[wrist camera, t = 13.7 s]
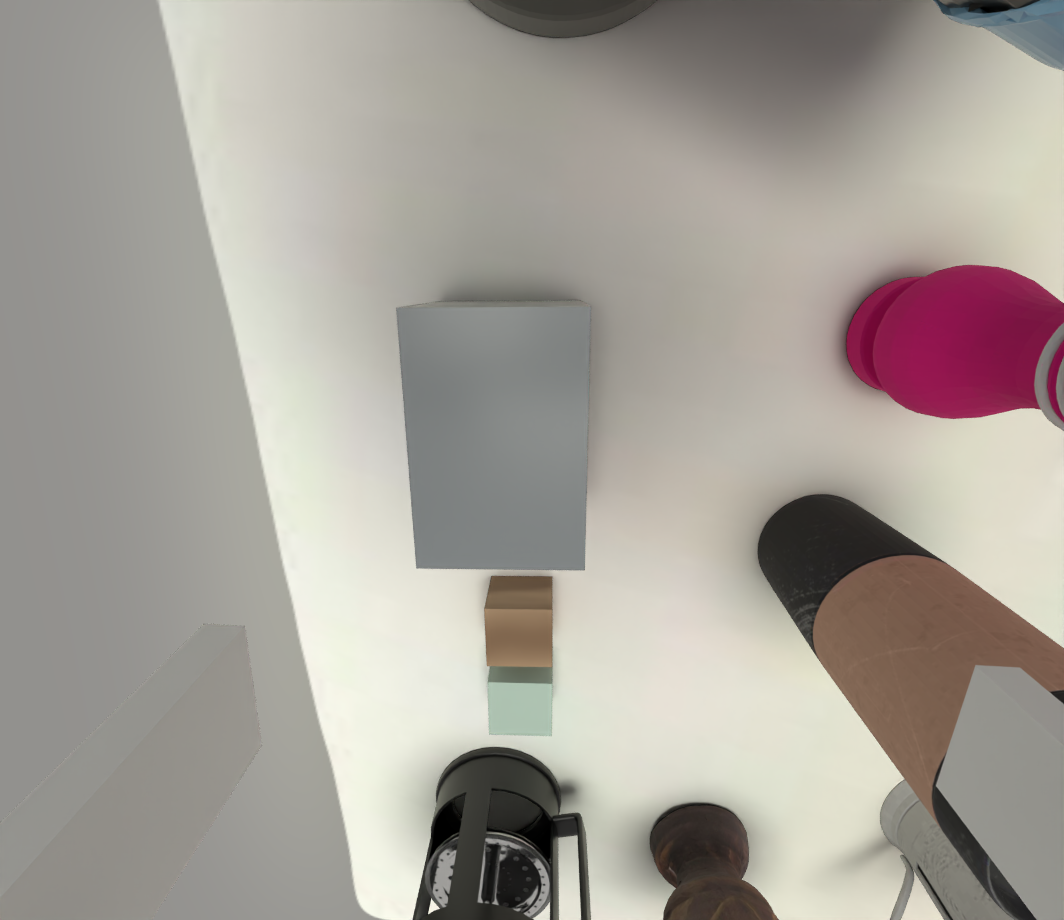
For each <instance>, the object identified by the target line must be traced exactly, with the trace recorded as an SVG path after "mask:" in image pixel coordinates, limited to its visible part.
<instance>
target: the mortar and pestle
mask: <svg viewBox="0 0 1064 920" xmlns="http://www.w3.org/2000/svg"><path fill="white" fill-rule="evenodd" d="M650 848H651V852H652V854H653V857H654V861H655V863H656V866H657V868H658V870H659V872H660V873H661V874H662V875H663V877H664V878H665V879H666V880H667V881H668V882H669V883H670V884H672V885H673V886H674V887H675V888H676V889H675V890H674V892H673V893H672V895H671V896H670V898H669V899H668V902H667V904H666V907H665V910H664V918H663V920H778V918H777V917H776V915H775V914H774V913H773V910H772V908H771V906H770V905H769V903H768V902H767V900H766V899H765V898H764V897H763V896H762V895H761V893H760V892H759V891H758V890H757V889H756V888H755V887H753V886H752V885H751V884H749V883H748V882H746V881H743V880H742V878H743V876H744V874H745V872H746V869H747V866H748V862H749V847H748V840H747V833H746V830H745V828H744V826H743V824H742V823H741V822H740V820H739V819H738V818H737V817H736V816H735V815H734V814H732V813H731V812H729V811H728V810H725V809H723V808H719V807H716V806H689V807H684V808H681V809H679V810H676V811H674V812H672V813H671V814H669V815H667V816H666V817H665V818H664V819H663V820H661V821H660V822H659V823H658V824H657V825H656V827H655V828H654V829H653V831H652V833H651V837H650Z"/></svg>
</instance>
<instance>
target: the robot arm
mask: <svg viewBox="0 0 1064 920" xmlns="http://www.w3.org/2000/svg"><path fill="white" fill-rule="evenodd" d="M469 1H470V2H472V3H473V4H474V5H475V6H476V7H477V8H479V9H480V10H482V11H483V12H484V13H486V14H487V15H489V16H491V17H492V18H494V19H496V20H497V21H499V22H501V23H503V24H505V25H507V26H509V27H512V28H515V29H517V30H520V31H523V32H527V33H530V34H535V35H540V36H547V37H577V36H584V35H589V34H593V33H598V32H601V31H604V30H607V29H610V28H612V27H615V26H617V25H619V24H622V23H624V22H625V21H627V20H629V19H631V18H633V17H635V16H636V15H638V14H639V13H641V12H642V11H644V10H645V9H647V8H648V7H649V6H651V5H652V4H653V3H655V2H656V1H657V0H469ZM933 1H934V2H935V3H936V4H937V6H938V7H939V8H940V9H941V11H942V13H943V14H945V15H947V16H948V18H949V19H951V20H954V21H956V22H959V23H961V24H966V25H971V26H976V27H984V28H985V29H987V30H989V31H991V32H992V33H994V34H996V35H997V36H999V37H1000V38H1002V39H1004V40H1005V41H1007V42H1008V43H1010V44H1012V45H1013V46H1015V47H1016V48H1018V49H1020V50H1021V51H1023V52H1024V53H1026V54H1028V55H1029V56H1031V57H1032V58H1034V59H1036V60H1038V61H1039V62H1041V63H1043V64H1045V65H1048V66H1050V67H1053V68H1056V69H1059V70H1063V71H1064V0H933ZM261 746H262V741H261V735H260V727H259V720H258V713H257V706H256V700H255V693H254V686H253V679H252V672H251V665H250V658H249V651H248V644H247V637H246V630H245V626H237V625H218V624H203V625H202V626H201V627H200V628H199V629H198V630H197V631H196V632H195V633H194V634H193V635H192V636H191V637H190V638H189V639H188V640H187V641H186V642H185V643H184V644H183V645H182V646H181V647H180V648H178V649H177V650H176V651H175V652H174V653H173V654H172V655H171V656H170V657H169V658H168V659H167V660H166V661H165V662H164V663H163V664H162V665H161V666H160V667H159V668H158V669H157V670H156V671H155V672H154V673H153V674H152V675H151V676H150V677H149V678H148V679H147V680H146V681H145V682H144V683H143V684H142V685H141V686H140V687H139V688H138V689H137V690H135V692H133V693H132V694H131V695H130V696H129V697H128V698H127V699H126V700H125V701H124V702H123V703H122V704H121V705H120V706H119V707H118V708H117V709H116V710H115V711H114V712H113V713H112V714H111V715H110V716H109V717H108V718H107V719H106V720H105V721H104V722H103V723H102V724H101V725H100V726H99V727H98V728H97V729H95V730H94V731H93V732H92V733H91V734H90V735H89V736H88V737H87V738H86V739H85V740H84V741H83V742H82V743H81V744H80V745H79V746H78V747H77V748H76V749H75V750H74V751H73V752H72V753H71V754H70V755H69V756H68V757H67V758H66V759H65V760H64V761H63V762H62V763H61V764H60V765H59V766H58V767H57V768H56V769H55V770H53V771H52V772H51V773H50V774H49V776H47V777H46V778H45V779H44V780H43V781H42V782H41V783H40V784H39V785H38V786H37V787H36V788H35V789H34V790H33V791H32V792H31V793H30V794H29V795H28V796H27V797H26V798H25V799H24V800H23V801H22V802H21V803H20V804H19V805H18V806H17V807H16V808H14V809H13V810H12V811H11V812H10V813H9V814H8V815H7V816H6V817H5V818H4V819H3V820H2V821H1V822H0V920H152V919H153V917H154V916H155V914H156V913H157V911H158V909H159V908H160V906H161V905H162V903H163V901H164V900H165V898H166V897H167V895H168V894H169V892H170V890H171V889H172V887H173V886H174V884H175V882H176V881H177V879H178V878H179V876H180V874H181V873H182V871H183V870H184V868H185V867H186V865H187V863H188V862H189V860H190V859H191V857H192V855H193V854H194V852H195V851H196V849H197V847H198V846H199V844H200V843H201V841H202V840H203V838H204V836H205V835H206V833H207V832H208V830H209V829H210V827H211V825H212V824H213V822H214V821H215V819H216V818H217V816H218V814H219V813H220V811H221V810H222V808H223V806H224V805H225V803H226V802H227V800H228V799H229V797H230V795H231V794H232V792H233V791H234V789H235V787H236V786H237V784H238V783H239V781H240V780H241V778H242V776H243V775H244V773H245V772H246V770H247V768H248V767H249V765H250V764H251V762H252V760H253V759H254V757H255V755H256V754H257V753H258V751H259V749H260V748H261ZM936 787H937V788H938V789H939V791H940V792H941V793H942V795H943V796H944V797H945V799H946V800H947V801H948V803H949V804H950V805H951V807H952V808H953V809H954V811H955V812H956V813H957V814H958V816H959V817H960V818H961V820H962V821H963V822H964V824H965V825H966V826H967V828H968V829H969V830H970V832H971V833H972V834H973V836H974V837H975V838H976V840H977V841H978V842H979V844H980V845H981V846H982V848H983V849H984V850H985V852H986V853H987V854H988V856H989V857H990V858H991V860H992V861H993V862H994V864H995V865H996V866H997V868H998V869H999V870H1000V872H1001V873H1002V874H1003V876H1004V877H1005V878H1006V880H1007V881H1008V882H1009V884H1010V885H1011V886H1012V888H1013V889H1014V890H1015V892H1016V893H1017V894H1018V896H1019V897H1020V898H1021V900H1022V901H1023V902H1024V904H1025V905H1026V906H1027V908H1028V909H1029V910H1030V912H1031V913H1032V914H1033V916H1034V917H1035V918H1036V919H1037V920H1064V704H1063V703H1062V702H1061V701H1059V700H1058V699H1057V698H1056V697H1055V696H1053V695H1052V694H1051V693H1050V692H1049V691H1047V690H1046V689H1045V688H1044V687H1043V686H1041V685H1040V684H1039V683H1038V682H1037V681H1035V680H1034V679H1033V678H1032V677H1031V676H1029V675H1028V674H1027V673H1026V672H1025V671H1023V670H1022V669H1021V668H1020V667H1002V666H983V665H975V668H974V671H973V674H972V677H971V680H970V683H969V686H968V689H967V693H966V696H965V699H964V702H963V705H962V708H961V711H960V714H959V717H958V720H957V723H956V726H955V729H954V732H953V735H952V738H951V741H950V744H949V747H948V750H947V753H946V756H945V759H944V762H943V765H942V768H941V771H940V775H939V778H938V781H937V784H936Z"/></svg>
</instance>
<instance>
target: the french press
mask: <svg viewBox="0 0 1064 920" xmlns="http://www.w3.org/2000/svg"><path fill="white" fill-rule="evenodd" d="M492 790H495V791H505V792H509V793H513V794H517V795H519V796H521V797H524V798H526V799H528V800H529V801H531V802H533V803H534V804H536V805H537V806H538V807H539V808H540V809H541V810H542V812H541V815H540V816H539V818H538V819H537V820H536V821H535V822H534V823H533V824H532V825H531V826H529V827H528V828H526V829H524V830H522V831H519V832H516V833H514V832H511V831H508V830H504V829H500V828H493V827H487V823H488V815H489V807H490V799H491V791H492ZM465 794H466V798H465V804H464V810H463V815H462V818H461V817H460V815H459V814H458V813H457V811H456V809H455V806H454V802H453V800H455V799H456V798H458V797H461V796H463V795H465ZM436 803H437V804H436V808H435V813H434V817H433V822H432V826H431V839H430V843H429V848H428V852H427V857H426V862H425V866H424V871H423V875H422V880H421V884H420V889H419V893H418V898H417V902H416V907H415V911H414V916H413V920H533V919H532V918H534V917H536V916H537V915H538V914H539V913H540V912H542V911H543V910H544V909H545V907H546V906H547V905H548V903H549V902H550V920H559V873H558V838H559V837H567V836H574V835H578V856H579V879H580V902H581V920H591V911H590V894H589V877H588V860H587V843H586V832H585V828H584V824H583V820H582V817H581V815H580V814H579V813H569V814H562V815H559V812H560V806H561V796H560V789H559V787H558V784H557V782H556V779H555V778H554V776H553V775H552V773H551V772H550V771H549V770H548V769H547V768H546V767H545V766H544V765H543V764H542V763H541V762H539V761H538V760H536V759H535V758H533V757H532V756H529V755H527V754H525V753H522V752H520V751H516V750H512V749H507V748H483V749H479V750H475V751H471V752H469V753H467V754H464V755H462V756H460V757H459V758H457V759H456V760H454V761H453V762H452V763H451V764H450V765H449V766H448V767H447V768H446V769H445V771H444V772H443V774H442V776H441V777H440V780H439V783H438V786H437V790H436ZM431 898H432V900H433V901H434V902H435V903H436V904H437V906H438V907H439V908H440V909H438V910H435V911H433V912H431V913H430V914H428V911H429V906H430V901H431Z"/></svg>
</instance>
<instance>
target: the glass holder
mask: <svg viewBox="0 0 1064 920" xmlns="http://www.w3.org/2000/svg"><path fill="white" fill-rule="evenodd" d="M880 823H881V828H882V830H883V832H884V834H885V836H886V837H887V839H888V840H889V841H890V842H891V843H892V844H893V845H894V846H895V847H897V848H898V849H899V850H901V851H902V852H903V854H904V855H905V856H904V855H901V856H900V857H901V859H902V861H903V863H904V865H905V867H906V874H905V878H904V882H903V885H902V888H901V891H900V893H899V896H898V899H897V902H896V904H895V907H894V909H893V912H892V915H891V918H890V920H901V918H902V915H903V913H904V910H905V908H906V905H907V902H908V899H909V896H910V893H911V890H912V886H913V882H914V872H913V870H914V871H915V873H916V875H917V876H918V878H919V880H920V881H921V883H922V884H923V886H924V888H925V889H926V891H927V893H928V894H929V896H930V898H931V899H932V901H933V902H934V904H935V906H936V907H937V909H938V911H939V912H940V914H941V915H942V917H943V919H944V920H1014V919H1013V918H1011V917H1010V916H1008V915H1007V914H1006V913H1005V912H1004V911H1003V910H1002V909H1001V908H1000V907H999V906H998V905H997V904H996V903H995V902H994V901H993V899H992V898H991V897H990V896H989V894H988V893H987V892H986V890H985V889H984V888H983V886H982V885H981V884H980V882H979V881H978V880H977V878H976V877H975V875H974V874H973V873H972V871H971V870H970V869H969V867H968V866H967V864H966V863H965V862H964V860H963V859H962V857H961V856H960V855H959V853H958V852H957V851H956V849H955V848H954V846H953V845H952V844H951V842H950V841H949V839H948V838H947V837H946V835H945V834H944V833H943V831H942V830H941V828H940V827H939V826H938V824H937V823H936V821H935V820H934V819H933V817H932V816H931V815H930V813H929V812H928V810H927V809H926V808H925V806H924V805H923V804H922V802H921V801H920V799H919V798H918V797H917V795H916V794H915V792H914V791H913V790H912V788H911V787H910V786H909V784H908V783H907V781H906V780H903V781H902V782H901V783H899V784H898V785H897V786H896V787H895V788H894V789H893V790H892V791H891V792H890V793H889V795H888V796H887V797H886V799H885V801H884V803H883V805H882V809H881V813H880ZM906 858H907V859H906ZM912 868H913V869H912Z"/></svg>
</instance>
